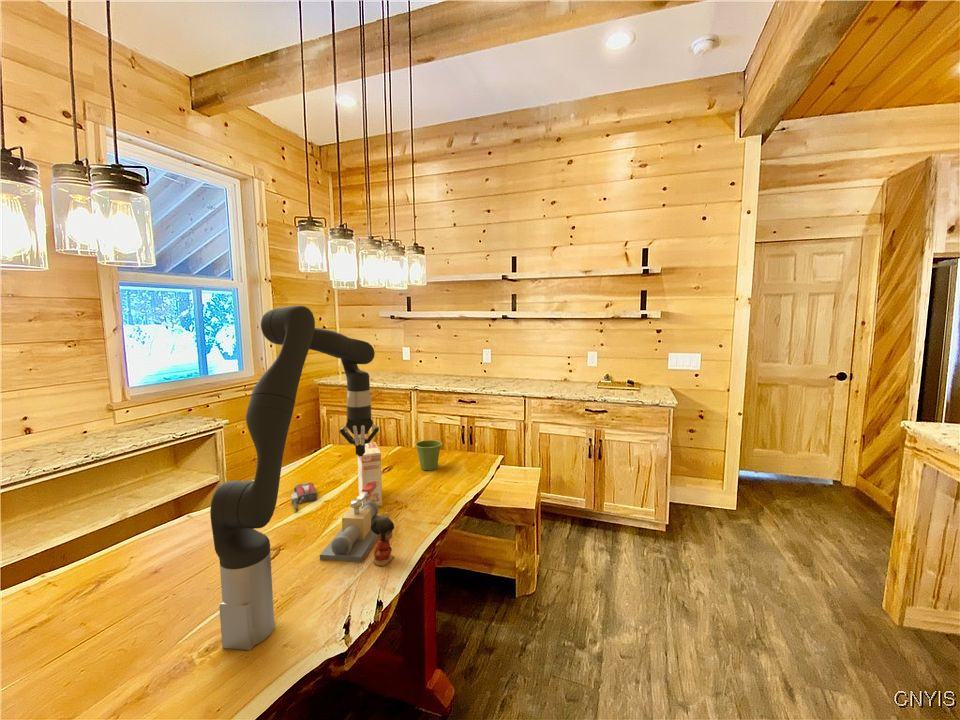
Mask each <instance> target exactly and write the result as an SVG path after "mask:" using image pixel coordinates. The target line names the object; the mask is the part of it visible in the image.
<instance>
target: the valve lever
mask: <svg viewBox="0 0 960 720" xmlns="http://www.w3.org/2000/svg"><path fill="white" fill-rule="evenodd" d="M375 489H376V482H368V483H367V484H366V486H365V487H364V488H363V489H362V493H361V494H360V495H359V494H358V496H357V498H355V499H352V500H350V508H362V501H363V500H364V499H365V498H366V496H367V495H371V493H372V492H373V491H374V490H375Z"/></svg>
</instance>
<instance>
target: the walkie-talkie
mask: <svg viewBox="0 0 960 720" xmlns="http://www.w3.org/2000/svg"><path fill="white" fill-rule="evenodd" d="M293 490H294V492H292V494H291V495H290V501H291V502H290V503H291V504H292V505H293V507H294V511H299V506H298V504H301V503H305V502H312V501H316V500H317V499H318V494H317V491H316V488H315V485H314V483H312V482H304V483H299V484H298V483H297V485H295V487H294V489H293ZM291 504H290V505H291Z"/></svg>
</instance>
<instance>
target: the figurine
mask: <svg viewBox="0 0 960 720" xmlns="http://www.w3.org/2000/svg"><path fill="white" fill-rule="evenodd" d="M394 529H395V524H394V523H393V521H392V519H390V517H389V518H381V519H374V520H373V523H372V525H371V530H372V531H373V532H374V533H375V534H378V535H379V536H378V539H377V540H376V543H375V544H376V546H375V548H374V550H373V557H374V559H373V561H372V562H373V564H374V565H375V566H378V567H379V566H380V567H384V566H386V565H388V564H389V563H390V562H392V560H393V559H394V556H393V554H392V551H393V550H392V549H393V548H392V547H391V543H390V540H391V539H392V538H393V531H394Z"/></svg>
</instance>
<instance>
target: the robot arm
mask: <svg viewBox="0 0 960 720" xmlns="http://www.w3.org/2000/svg"><path fill="white" fill-rule="evenodd" d="M260 329H261V333H262V334H263V336H264V338H265V339H266V340H267V341H268V342H270V343H272V344H274V345H278V346H279V345H280V346H281V349H280V351H279V353H278V355H277V357H276V359H275V360H274V361H273V363H272V364H271V366H269V367H268V369H267V370H266V371H265V372H264V373H263V374H262V376H261V377H260V378H259V380H258V381H257V382H256V384H255V385H254V387H253V389H252V392H251V395H250V399H249V401H248V406H247V410H246V414H245V421H246V427H247V430H248V432H249V435H250V437H251V440H252V443H253V444H254V448H255V452H256V456H257V458H256V459H257V461H256V462H257V463H256V469H255V470H256V471H255V476H254V479H253V481H252V480H227V481H225V482H223V483H222V484H220V485H219V486H218V487H217V488H216V489H215V491H214V493H213V496H212V499H211V500H210V501H211V502H210V508H209V510H210V511H209V513H210V515H209V516H210V523H211V525H210V526H211V530H212V537H213V546H214V551H215V554H216V556H217V557H218V559H219V569H220V570H219V571H220V585H221V598H222V599H221V600H222V602H220V604H219V606H218V607H219V618H220V619H219V620H220V634H221V635H220V636H221V648H223V649H229V650H243V651H251V650H252V648H253V647H254V646H256V645H258V644H260V643H261V642H263V641H264V640H266V639H267V638H268V637H269V636H270V635H271V634H272V632H273V631H274V629H275V614H274V612H275V610H274V607H275V606H274V597H273V596H274V595H273V591H274V590H273V577H272V576H273V573H272V561H271V560H272V557H271V543H270V542H271V541H270V539H269V537H268V536H267V534H265V533H262V532H260V531H259V530H256V529H262V528H264V527H266V526H267V525H268V524H269V523H270V522H271V519H272V517H273V516H274V513H275V509H276V506H277V501H278V495H279V488H280V481H281V480H280V479H281V475H282V474H281V471H282V465H283V457H284V454H285V453H284V452H285V448H286V443H287V436H288V433H289V429H290V425H291V421H292V418H293V413H294V409H295V405H296V398H297V394H298V393H297V392H298V388H299V385H300V382H301V381H300V380H301V377H302V372H303V369H304V365H305V362H306V360H307V356H308V353H309V352H310V351H309V350H311V351H314V352H318V353H322V354H325V355H327V356H331V357H334V358H336V359H340V361H341V365H342V367H343V371H344V373H345V377H346V418H347V419H346V420H347V421H346V423H345V425H344V426H343V427H341V428H340V429H339V433H340V434H341V435H342V437H344V439H345V440H346V441H347V442H348V443H349V444H350V445H354V446H355V455H356V456H357V458H358V457H359V456H363V454H364V453H365V444H367V443H370V442H372V440H373V439H374V437H375V436H376V435H377V433H378V432H379V430H380V426H378V425H376V424H374V420H373V419H372V395H371V390H370V389H371V387H370V374H369V373H368V372H367V371H365V370H361V369H360V368H359V366H358V365H368V364H370V363H371V362H373V360H375V359H374V358H375V349H374V347H373V345H372V344H371V343H369V342H367V341H365V340H360V339H356V338H351V337H348V336H346V335H345V334H342V333H340V332H337V331H333V330H330V329H324V328H318V327H316V321H315V316H314V314H313V312H312V309H310V308H309V307H306V306H304V305H292V306H284V307H278V308H277V307H276V308H273V309H270V310H268V311H267V312H265V313H264V314H263V315H262V317H261V321H260ZM370 430H371V433H370V434H369V435H368V437H367V435H366V434H368V432H369V431H370ZM349 431H350V433H351V434H352V435H353V436H352V435H351V434H350V433H349ZM366 437H367V438H366ZM360 443H361V444H360Z"/></svg>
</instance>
